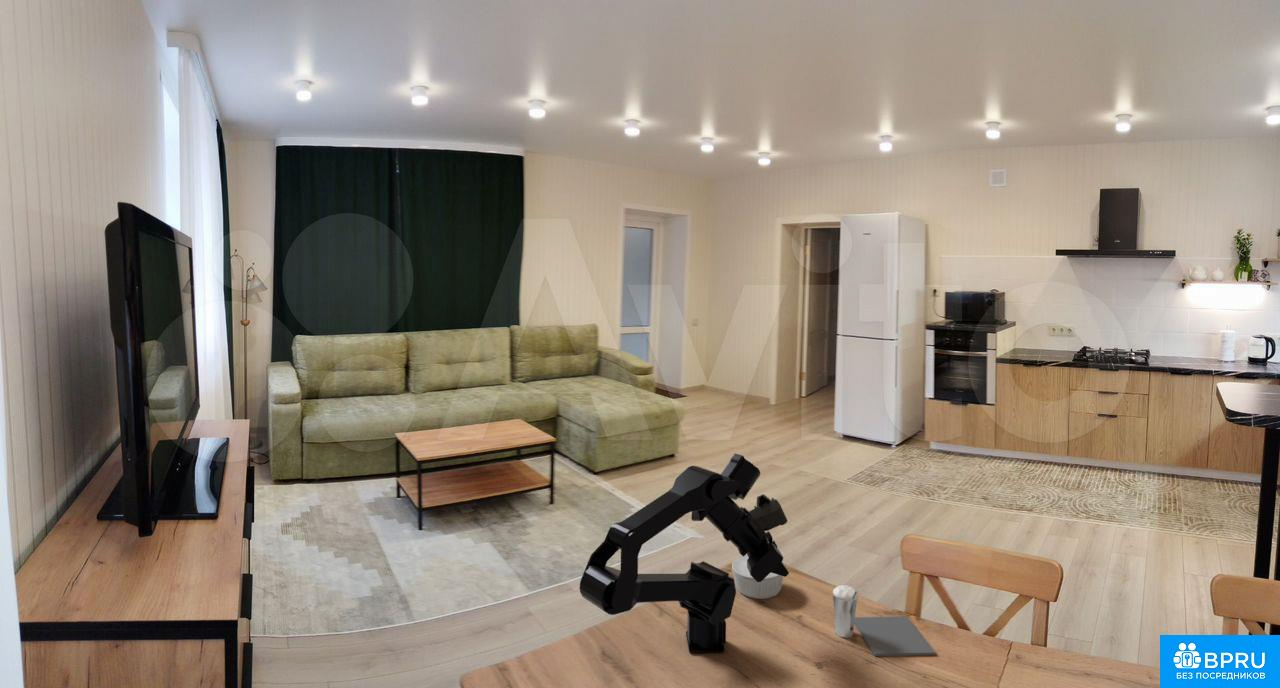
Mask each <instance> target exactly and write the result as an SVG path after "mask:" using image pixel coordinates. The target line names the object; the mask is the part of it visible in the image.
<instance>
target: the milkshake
mask: <svg viewBox="0 0 1280 688" xmlns="http://www.w3.org/2000/svg"><path fill="white" fill-rule="evenodd" d="M858 597H859V594H858V591H856V590H855V589H854V588H853V587H851V586H850V585H845V584H842V585H837V586H836V587H835V588H834V589H833V590H832V601H833V602H832V603H833V610H834V611H833V612H834V633H835V634H836V635H837V636H838V637H841V638H844V639H848V638H849V639H850V638H851V637H853V636H854V627H855V624H854V620H855V617H856V611H857V605H858Z"/></svg>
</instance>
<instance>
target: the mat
mask: <svg viewBox="0 0 1280 688" xmlns="http://www.w3.org/2000/svg"><path fill="white" fill-rule="evenodd" d="M854 627H856V629H857V630H858V633H860V635H861V637H862V638H863V640H864V642H865V643H866V645H867V646H868V647H869V649H870V651H871V653H872V654H873V656H874V657H900V656H901V657H906V656H910V657H911V656H936V651H935V650H934V649H933V647H932V646H931V645H930V644H929V642H928V641H927V640H926V638H925V637H924V636H923V635H922V633H921V632H920V631H919V629H918V628H917V627H916V626H915V624H914V623H913V622H912V621H911V619H910V618H909V617H908V616H866V617H865V616H861V617H860V616H855V620H854Z"/></svg>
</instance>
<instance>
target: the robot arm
mask: <svg viewBox="0 0 1280 688" xmlns="http://www.w3.org/2000/svg"><path fill="white" fill-rule="evenodd" d="M760 476H761V470H760V469H759V467H757V466H755V465H754V464H753V463H752V462H750V461H749V460H747V459H746V458H745V457H744V455H741V454H738V453H734V454H733V455H732V456H731V458H730V460H729V462H728V464H727V465H726V466H725V468H724V469H723V471H721V473H718V472H716V471H712V470H710V469H707V468H704V467H701V466H697V465H690V466H688V467H687V468H686V469H685V470H684V471H682V472H681V473H680V474H679V475H678V476H677V477H676V478H675V480H674V483H673V486H672V487H671V488H670V489H669V490H668V491H666V492H665V493H663V494H661V495H660V496H659V497H657V498H655V499H654V500H652V501H650V503H648V504H646V505H645V506H643V507H642V508H640V509H638V510H637V511H636V512H634V513H633V514H630V516H628V517H627V518H625V519H624V520H622V521H619V522H616V523H613V524H612V525H611V526H610V527H609V529H608V531H607V534H606V536H605V537H604V538H605V539H604V541H602V543H600V545H598V546H597V548H596V549H594V551H593V552H592V553H591V555H590V557H589V559H588V561H587V564H586V566H585V569H584V571H583V573H582V576H581V579H580V582H579V593H580V594H581V597H582V598H584V599H585V600H586V601H588V602H590V603H591V604H592V605H594V606H596V607H597V608H599V609H600V610H602V611H603V612H605V613H606V614H608V615H609V616H610V615H611V616H614V615H618V614H619V615H620V614H622V613H626V612H629V611H631V610H632V609H634V607H635V606H636V605H637V604H639V603H640V604H642V603H661V602H662V603H663V602H664V603H665V602H666V603H667V602H678V603H679V607H680V608H683V609H685V610H686V611H687V619H686V621H687V625H686V626H687V630H686V632H685V636H686V641H687V642H686V644H687V648H688V649H687V650H688V653H690V654H701V653H702V654H703V653H704V654H705V653H706V654H707V653H711V654H713V653H725V646H724V645H725V644H726V642H727V622H726V620H727V619H728V618H731V616H732V611H733V606H734V603H735V599H736V594H737V588H736V585H735V579H734V577H731V576H729V575H730V573H728V572H726V571H725V570H722V569H720V568H718V567H715V566H714V565H712V564H709V563H708V562H706V561H701V562H694V561H690V567H689V569H688V570H687V572H685V573H639V572H638V571H639V554H640V552H641V549H642V546H643V545H644V544H646V543H647V542H648V541H650V540H652V539H653V538H654V537H655V536H657V535H659V534H661V532H663V531H664V530H666V529H668V527H670V526H671V525H673V524H674V523H675V522H678V520H680V519H681V518H683V517H684V516H686V515H687V514H689V513H691V521H692V522H702V521H704V519H705V518H706V519H707V520H708V521H709V522H710V523H711V524H712V525H713V526H714V527H715V528H716V529H717V530H718V531H719V532H720V533H721V534H722V537H723V539H725V541H726V542H731V543H732V544H733V545H734V547H736V548H737V551H738V552H739V555H741V557H744V556H747V555H748V557H749V558H748V559H747V568H748V570H749V573H750V575H751V576H752V577H753V578H754V579H755V580H756V581H757V582H761V581H762V580H763V579H764V578H765V577H767V576H768V575H769V574H770V573H774V574H778V575H781V576H783V578H784V577H785V578H786V577H787V576H789V574H790V572H789V570H788V568H787V567H786V565H785V564H784V563H783V560H784V556H783V554H782V553H781V551H780V549H779V547H778V545H777V543H776V541H775V540H774V538H773V536H772V534H771V532H770V531H771V530H772V529H775V528H777V527H779V526H784V525H785V524H787V522H788V519H787V516H786V514H785V512H784V509H783V508H782V505H781V504H780V503H779V501H778V499H774V497H772V498H770V497H768V496H767V495H766V494H761V495H758V496H756V505H754V506H753V509H752V510H748V509H747V508H746V507H743V506H739V505H738V503H736V502H735V501H737V500H738V499H740V500H742V501H744V499H745V498H746V496H748V493H750V491H751V489H752V488H753V486H754V485H755V483H756V482H757V481H758V479H759V478H760ZM734 500H735V501H734ZM619 550H620V570H619V569H617V568H615V567H611V566H609V565H607V563H608V561H609V560H610V559H611V558H612V557H613V556H614V555H615V554H616V553H617V552H618V551H619Z"/></svg>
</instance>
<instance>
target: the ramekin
mask: <svg viewBox="0 0 1280 688" xmlns="http://www.w3.org/2000/svg"><path fill="white" fill-rule="evenodd" d="M748 558H749V557H748V555H747V554H746V555H745V556H744V557H743V556H740V557H738V558H736V559H735V560H734V561H733V562H732V564H731V571H732V573H733V579H734V583H735V588H736V590H738V591H739V593H740V594H742V595H743V596H746V597H748V598H751V599H755V600H756V599H758V600H765V599H770V598H773V597H775V596H776V595H778V594H779V593H780V591H781V589H782V585H783V580H784V576H781V575H778V574H774V573H770V574H769V575H768V576H767V577H765V578H764V579H763V580H762V581H761V582H757V581H756V580H755V579H754V578H753V577H752V576H751V575H750V573H749V570H748V568H747V559H748Z"/></svg>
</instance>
